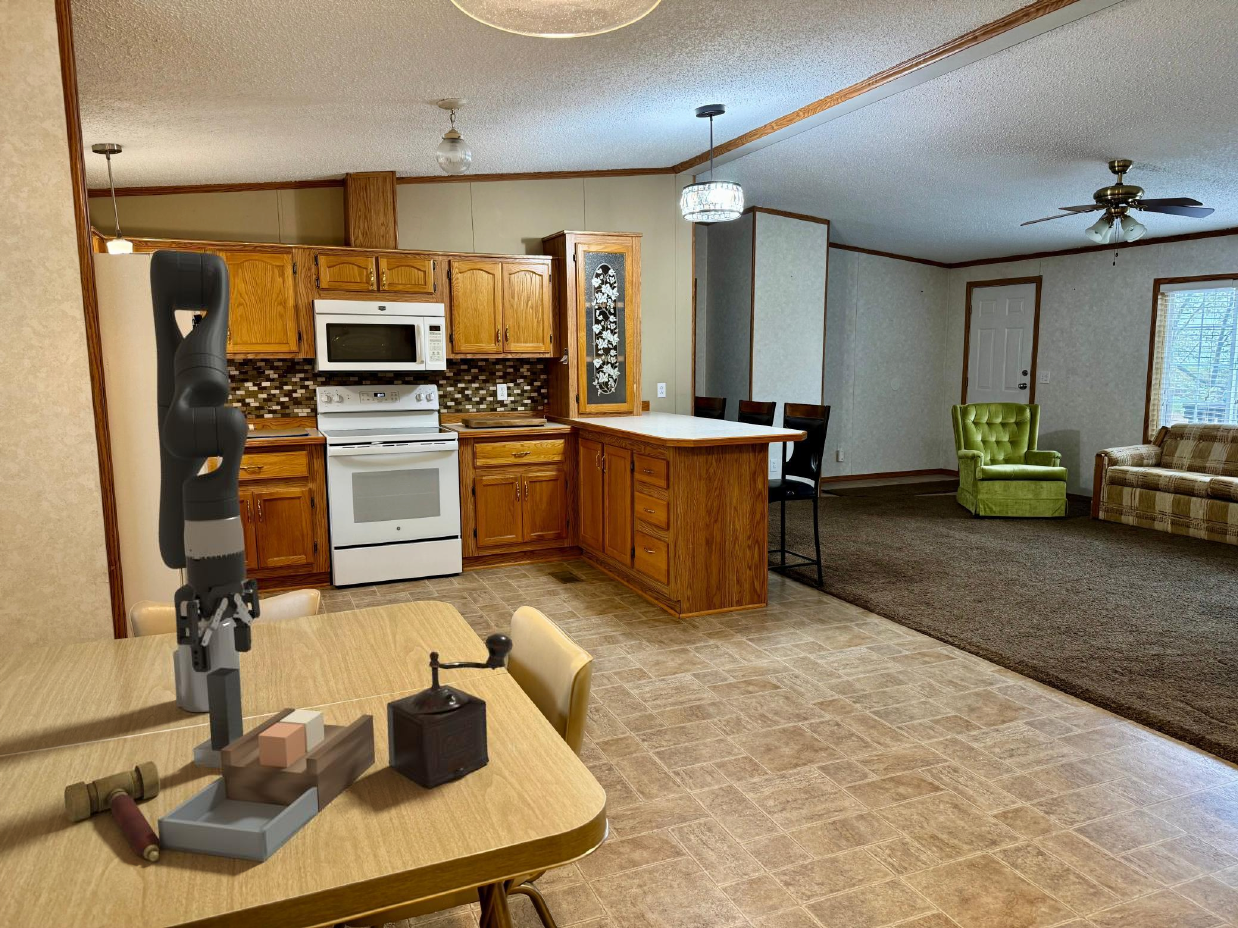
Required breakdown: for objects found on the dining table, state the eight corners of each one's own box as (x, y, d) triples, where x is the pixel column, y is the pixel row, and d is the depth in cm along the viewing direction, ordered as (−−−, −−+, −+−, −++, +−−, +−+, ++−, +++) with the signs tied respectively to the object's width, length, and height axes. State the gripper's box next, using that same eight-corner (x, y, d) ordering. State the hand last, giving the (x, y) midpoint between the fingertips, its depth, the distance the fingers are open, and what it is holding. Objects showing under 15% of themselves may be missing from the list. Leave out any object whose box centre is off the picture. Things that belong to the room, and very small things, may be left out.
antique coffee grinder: (429, 792, 111) (424, 661, 109) (386, 765, 118) (381, 643, 116) (521, 753, 122) (518, 633, 120) (476, 731, 129) (472, 618, 127)
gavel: (201, 823, 98) (103, 857, 91) (202, 858, 99) (106, 895, 92) (149, 755, 113) (62, 780, 106) (151, 786, 114) (65, 813, 107)
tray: (159, 847, 98) (157, 819, 98) (222, 802, 109) (220, 776, 108) (264, 861, 95) (262, 832, 95) (318, 813, 106) (316, 786, 105)
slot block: (223, 801, 109) (220, 749, 108) (288, 753, 123) (285, 707, 122) (319, 811, 106) (316, 759, 105) (375, 761, 119) (372, 715, 119)
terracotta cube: (260, 764, 108) (258, 735, 108) (279, 750, 112) (277, 722, 112) (287, 767, 107) (285, 737, 107) (305, 753, 111) (303, 724, 111)
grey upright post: (194, 765, 119) (187, 674, 118) (211, 753, 123) (205, 665, 122) (246, 770, 118) (240, 678, 116) (263, 759, 121) (257, 669, 120)
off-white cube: (281, 749, 113) (279, 720, 112) (298, 736, 117) (297, 709, 116) (307, 751, 112) (305, 723, 111) (324, 739, 116) (322, 711, 115)
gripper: (226, 539, 125) (233, 644, 126) (153, 559, 111) (163, 677, 113) (270, 539, 123) (277, 646, 125) (202, 560, 109) (211, 680, 111)
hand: (223, 660), depth 119 cm, fingers open, 8 cm apart
